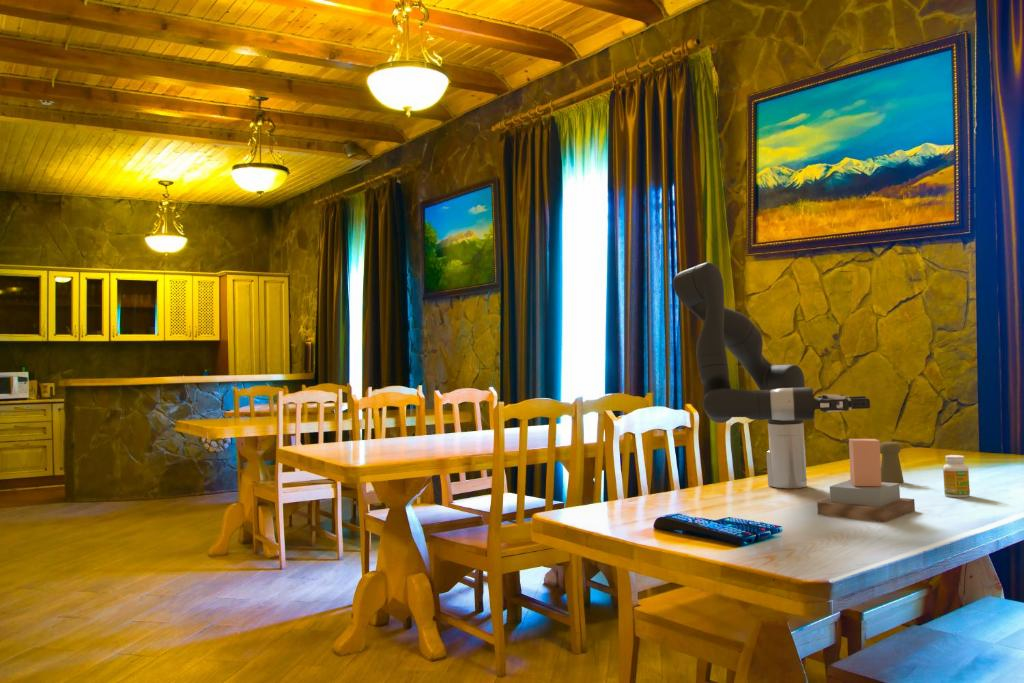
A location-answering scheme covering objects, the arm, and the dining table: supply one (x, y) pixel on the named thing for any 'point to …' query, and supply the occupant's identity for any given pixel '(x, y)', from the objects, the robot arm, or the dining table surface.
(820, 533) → the dining table surface
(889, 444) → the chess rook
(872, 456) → the terracotta block
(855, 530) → the dining table surface
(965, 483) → the supplement bottle
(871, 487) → the slate top block
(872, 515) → the walnut base block
